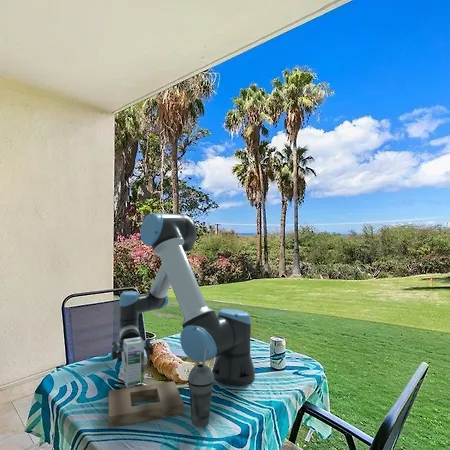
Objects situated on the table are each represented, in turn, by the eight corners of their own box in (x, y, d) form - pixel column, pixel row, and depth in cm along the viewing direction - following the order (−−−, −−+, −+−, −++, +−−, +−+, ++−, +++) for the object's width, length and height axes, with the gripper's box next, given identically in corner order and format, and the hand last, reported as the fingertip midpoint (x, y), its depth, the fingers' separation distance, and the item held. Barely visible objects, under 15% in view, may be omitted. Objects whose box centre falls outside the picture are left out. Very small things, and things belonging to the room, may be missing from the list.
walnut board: (174, 390, 107) (174, 381, 107) (183, 414, 94) (183, 403, 94) (108, 400, 101) (108, 390, 101) (108, 427, 88) (108, 416, 88)
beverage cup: (187, 414, 94) (188, 344, 94) (213, 413, 95) (214, 343, 94) (186, 431, 87) (187, 354, 87) (214, 429, 87) (215, 354, 87)
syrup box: (126, 388, 108) (126, 344, 108) (122, 380, 113) (123, 338, 113) (143, 384, 111) (144, 341, 110) (139, 377, 116) (140, 335, 116)
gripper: (155, 345, 132) (164, 369, 110) (103, 350, 126) (102, 378, 104) (155, 326, 132) (164, 347, 110) (103, 330, 126) (103, 354, 104)
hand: (134, 362), depth 107 cm, fingers closed on syrup box, 6 cm apart
